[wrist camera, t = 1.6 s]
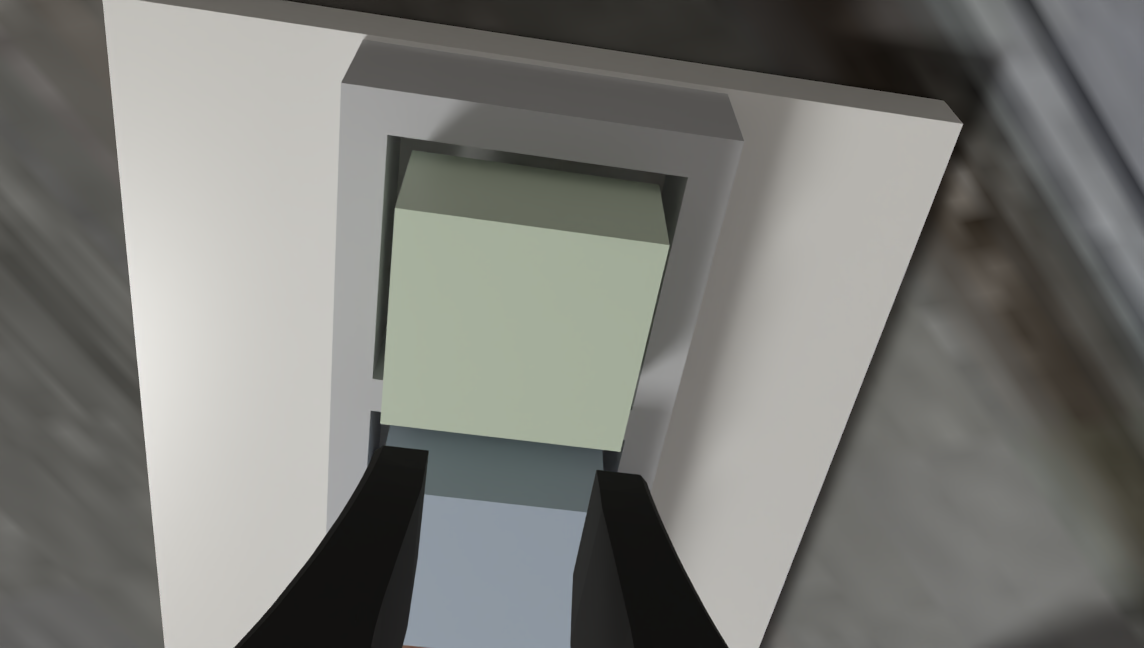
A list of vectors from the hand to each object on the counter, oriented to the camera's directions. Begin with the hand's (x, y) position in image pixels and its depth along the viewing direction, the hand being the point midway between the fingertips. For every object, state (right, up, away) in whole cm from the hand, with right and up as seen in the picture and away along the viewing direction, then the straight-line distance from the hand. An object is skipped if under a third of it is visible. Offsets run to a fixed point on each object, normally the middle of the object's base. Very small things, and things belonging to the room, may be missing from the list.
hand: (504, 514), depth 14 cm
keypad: (-1, -2, +13) cm, 13 cm away
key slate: (-1, -1, +9) cm, 9 cm away
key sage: (0, +4, +5) cm, 6 cm away
